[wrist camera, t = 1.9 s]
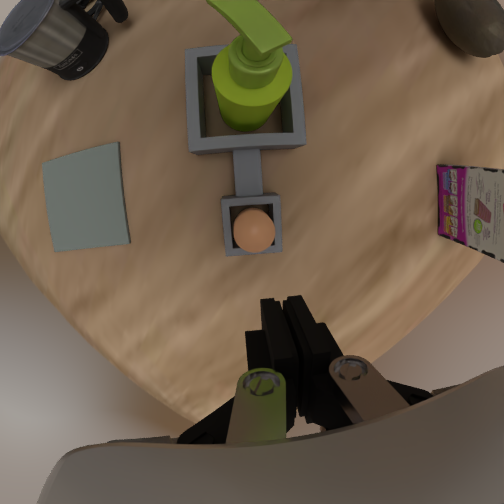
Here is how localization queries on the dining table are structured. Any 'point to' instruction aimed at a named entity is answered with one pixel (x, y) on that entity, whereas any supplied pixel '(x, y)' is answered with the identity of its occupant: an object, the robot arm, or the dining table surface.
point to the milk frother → (58, 34)
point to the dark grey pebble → (473, 25)
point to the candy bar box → (472, 207)
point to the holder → (244, 141)
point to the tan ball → (253, 230)
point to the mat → (86, 199)
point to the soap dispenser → (250, 65)
